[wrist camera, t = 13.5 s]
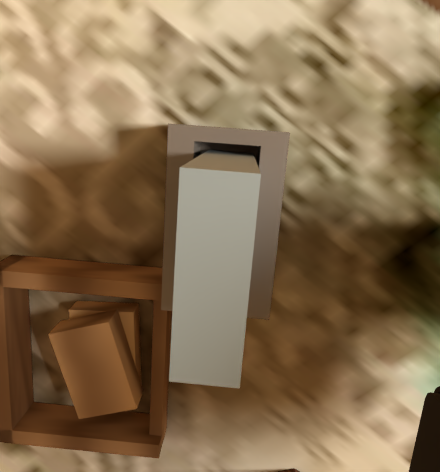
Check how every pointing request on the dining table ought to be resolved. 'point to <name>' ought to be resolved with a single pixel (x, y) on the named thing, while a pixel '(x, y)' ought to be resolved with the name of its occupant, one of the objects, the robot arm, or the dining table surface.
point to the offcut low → (128, 319)
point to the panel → (213, 267)
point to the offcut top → (97, 364)
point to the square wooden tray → (20, 359)
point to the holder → (269, 203)
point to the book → (290, 470)
